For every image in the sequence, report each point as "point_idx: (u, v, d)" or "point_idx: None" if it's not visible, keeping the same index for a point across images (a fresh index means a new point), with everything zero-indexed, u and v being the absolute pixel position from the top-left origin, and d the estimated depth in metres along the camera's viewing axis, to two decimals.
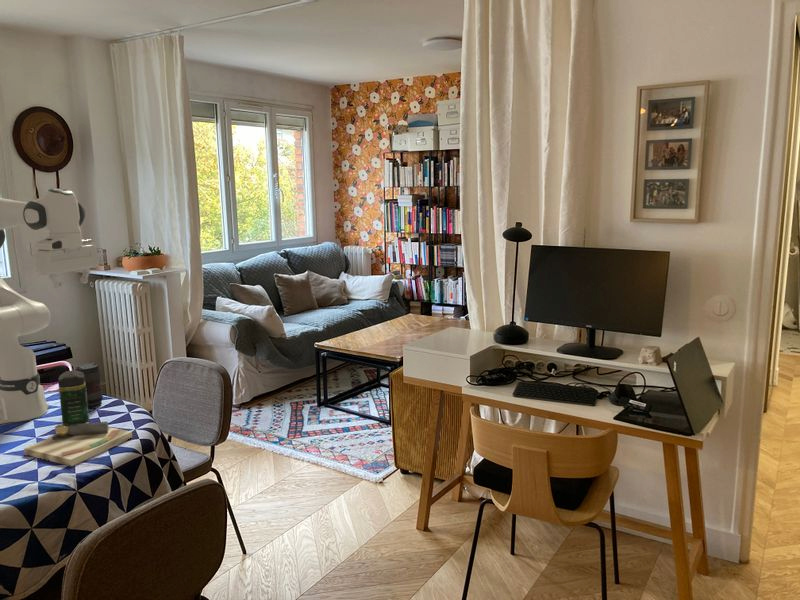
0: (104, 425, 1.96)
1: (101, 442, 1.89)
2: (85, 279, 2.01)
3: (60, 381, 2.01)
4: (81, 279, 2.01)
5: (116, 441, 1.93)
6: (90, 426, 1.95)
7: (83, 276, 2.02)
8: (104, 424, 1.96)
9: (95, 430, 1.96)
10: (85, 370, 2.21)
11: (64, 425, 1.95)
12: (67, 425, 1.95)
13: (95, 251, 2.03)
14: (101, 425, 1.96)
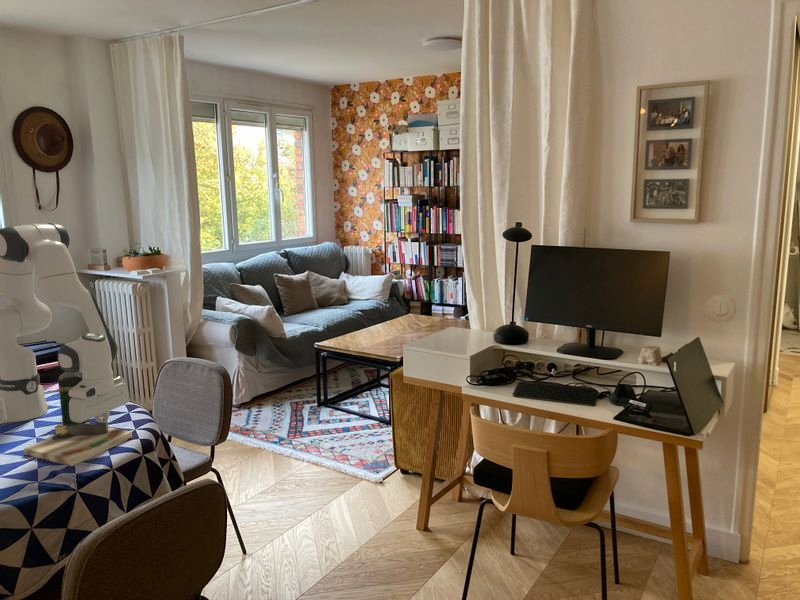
0: (104, 426, 1.96)
1: (101, 442, 1.89)
2: None
3: (60, 381, 2.01)
4: (101, 422, 1.98)
5: (116, 441, 1.93)
6: (90, 426, 1.95)
7: (103, 418, 1.99)
8: (104, 425, 1.96)
9: (94, 431, 1.96)
10: None
11: (64, 425, 1.95)
12: (67, 425, 1.95)
13: (126, 388, 2.04)
14: (101, 426, 1.96)
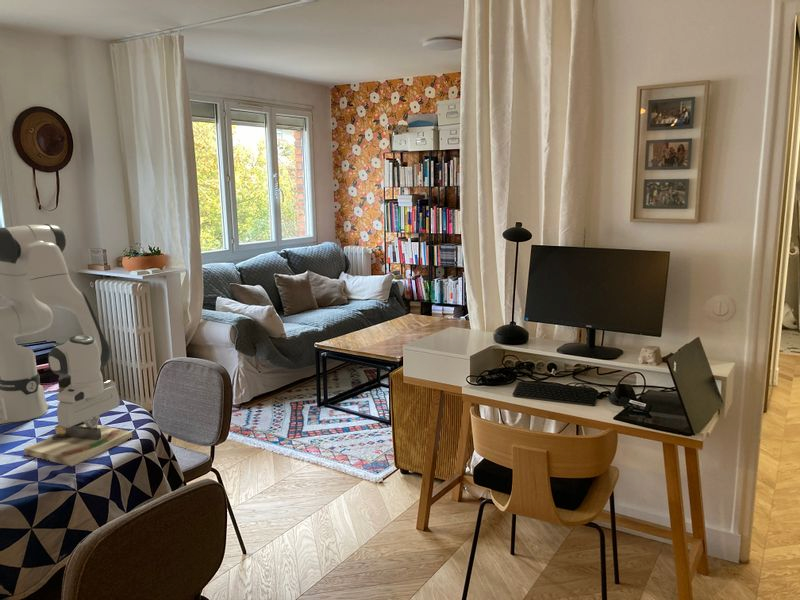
0: (95, 432, 1.91)
1: (101, 442, 1.89)
2: (95, 426, 1.94)
3: (60, 381, 2.01)
4: (91, 427, 1.94)
5: (116, 441, 1.93)
6: (83, 430, 1.92)
7: (93, 423, 1.95)
8: (95, 431, 1.91)
9: (87, 435, 1.92)
10: None
11: None
12: None
13: (115, 392, 2.00)
14: (92, 431, 1.91)
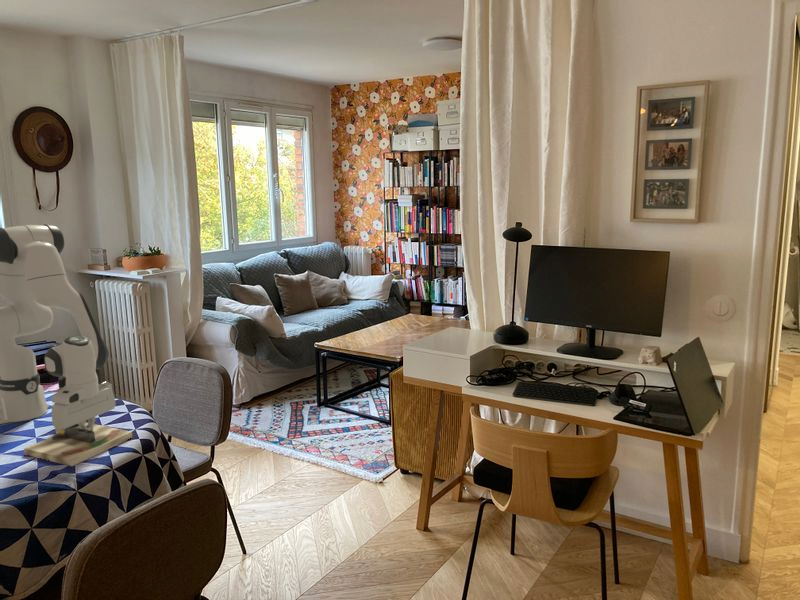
0: (88, 435, 1.89)
1: (101, 442, 1.89)
2: (90, 428, 1.93)
3: (60, 381, 2.01)
4: None
5: (116, 441, 1.93)
6: (78, 432, 1.91)
7: (88, 425, 1.94)
8: (88, 434, 1.89)
9: (82, 438, 1.90)
10: None
11: None
12: None
13: (111, 393, 1.99)
14: (86, 434, 1.89)
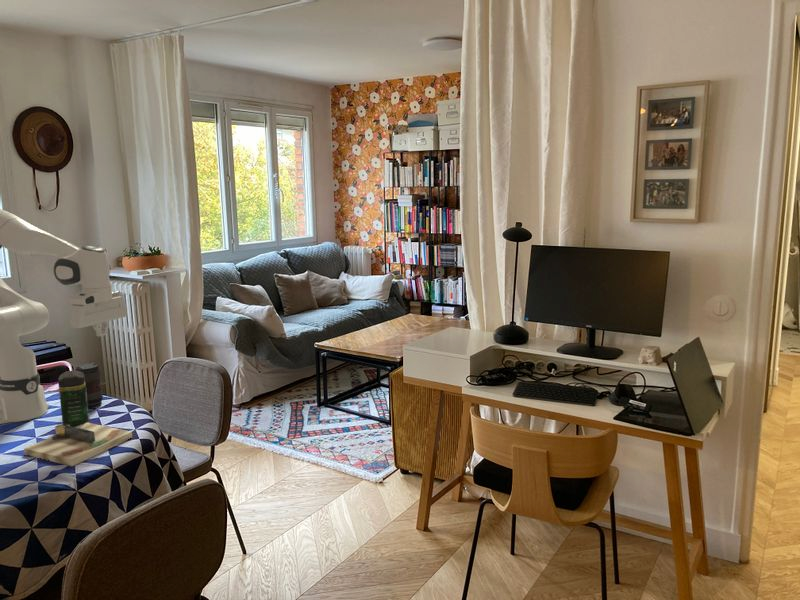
0: (88, 435, 1.89)
1: (101, 442, 1.89)
2: (104, 331, 2.10)
3: (60, 381, 2.01)
4: None
5: (116, 441, 1.93)
6: (78, 432, 1.91)
7: (103, 328, 2.11)
8: (88, 434, 1.89)
9: (82, 438, 1.90)
10: (85, 370, 2.21)
11: (63, 426, 1.94)
12: (65, 426, 1.94)
13: (123, 302, 2.16)
14: (86, 434, 1.89)
